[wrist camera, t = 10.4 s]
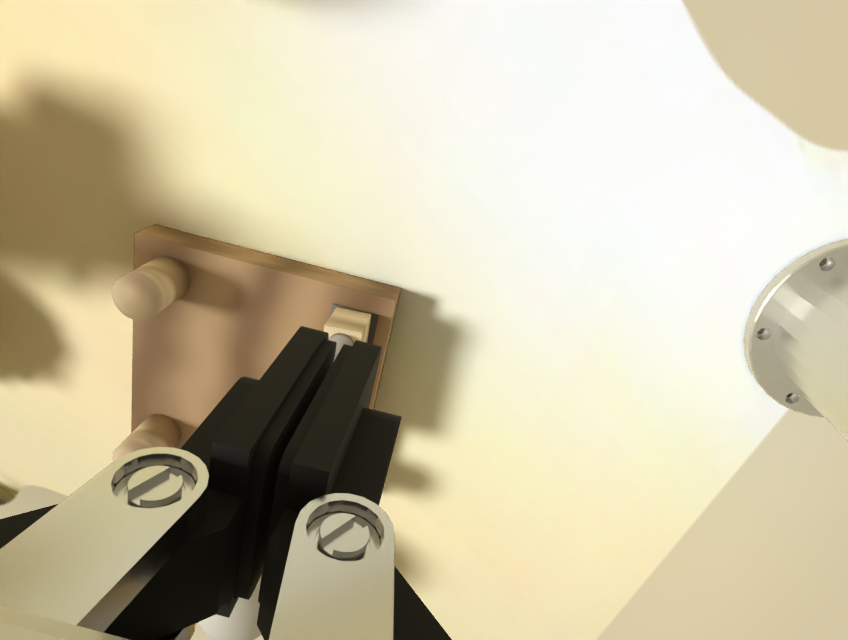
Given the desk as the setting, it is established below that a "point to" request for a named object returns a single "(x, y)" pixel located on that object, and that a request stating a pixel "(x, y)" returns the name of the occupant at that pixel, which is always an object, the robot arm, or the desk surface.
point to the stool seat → (222, 324)
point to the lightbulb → (235, 621)
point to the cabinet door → (347, 327)
